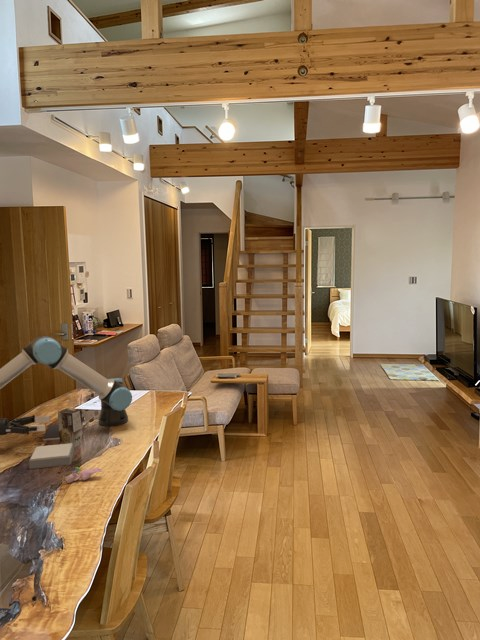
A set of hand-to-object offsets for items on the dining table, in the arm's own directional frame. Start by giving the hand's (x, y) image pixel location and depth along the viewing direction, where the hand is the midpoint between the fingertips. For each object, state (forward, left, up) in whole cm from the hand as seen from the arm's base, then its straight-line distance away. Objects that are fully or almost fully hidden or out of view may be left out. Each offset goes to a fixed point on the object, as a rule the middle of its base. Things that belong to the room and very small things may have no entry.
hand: (47, 423), depth 234 cm
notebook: (-2, -20, -12) cm, 23 cm away
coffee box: (-10, 0, -11) cm, 15 cm away
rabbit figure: (-18, +43, -11) cm, 48 cm away
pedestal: (-4, +18, -11) cm, 22 cm away
